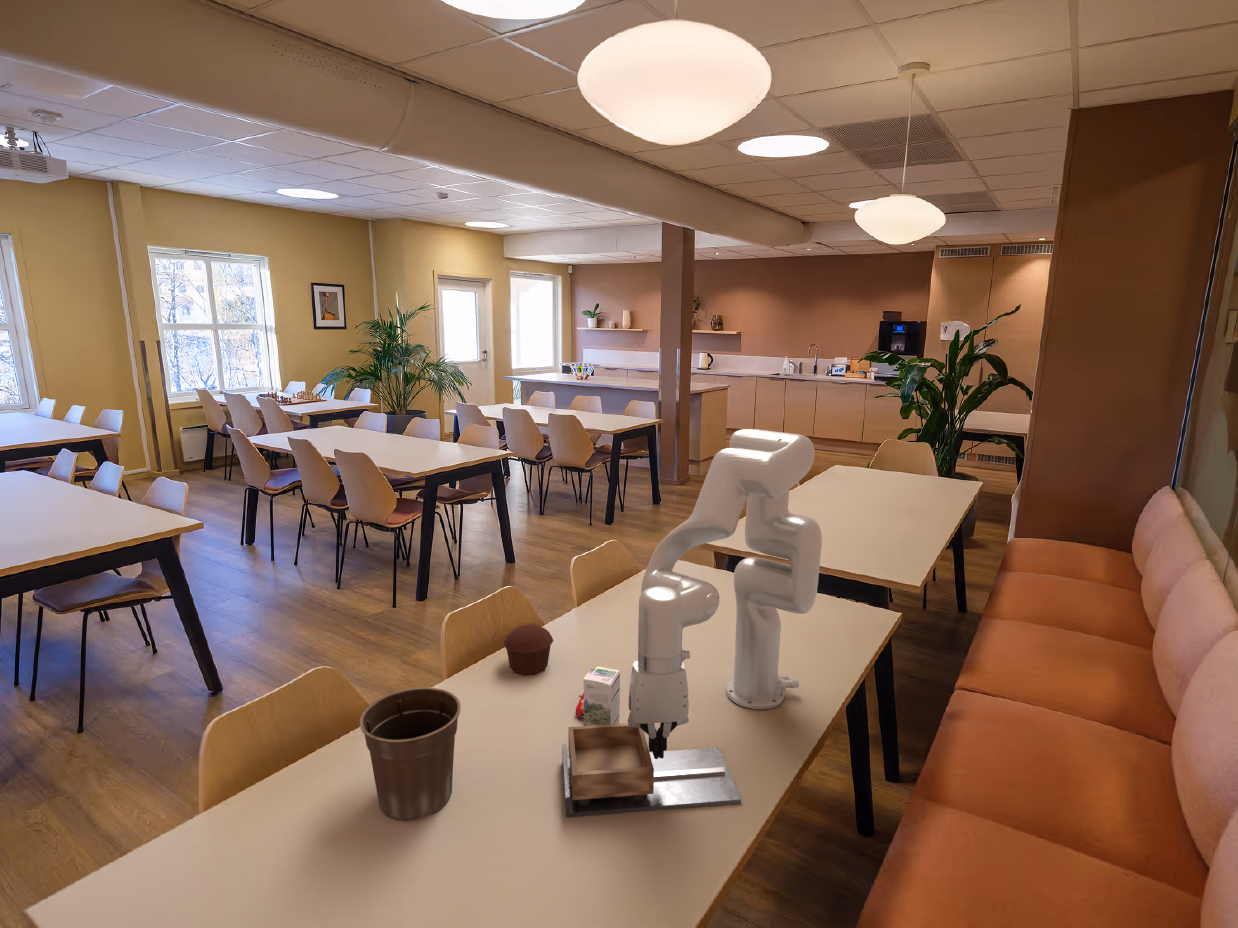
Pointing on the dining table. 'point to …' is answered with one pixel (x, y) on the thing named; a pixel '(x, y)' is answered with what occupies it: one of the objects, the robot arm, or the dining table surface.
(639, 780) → the open wooden crate
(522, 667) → the muffin
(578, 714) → the race car
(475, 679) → the dining table surface
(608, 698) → the syrup box
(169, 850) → the dining table surface
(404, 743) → the plant pot
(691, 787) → the track
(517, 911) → the dining table surface
